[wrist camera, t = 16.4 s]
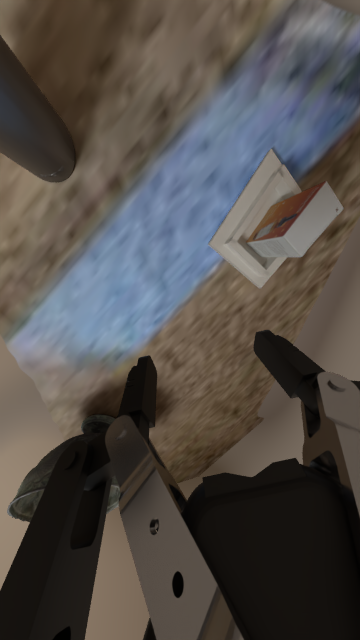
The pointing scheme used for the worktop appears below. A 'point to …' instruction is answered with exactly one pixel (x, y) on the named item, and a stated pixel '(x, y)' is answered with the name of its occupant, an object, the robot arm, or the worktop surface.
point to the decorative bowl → (41, 473)
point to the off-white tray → (254, 219)
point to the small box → (295, 223)
